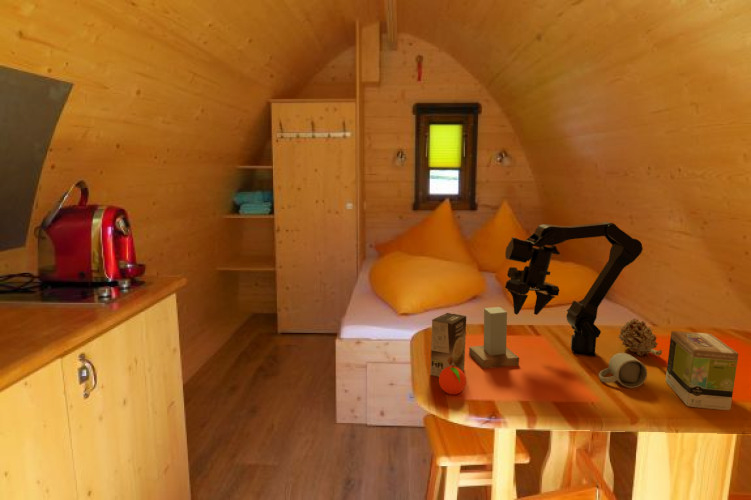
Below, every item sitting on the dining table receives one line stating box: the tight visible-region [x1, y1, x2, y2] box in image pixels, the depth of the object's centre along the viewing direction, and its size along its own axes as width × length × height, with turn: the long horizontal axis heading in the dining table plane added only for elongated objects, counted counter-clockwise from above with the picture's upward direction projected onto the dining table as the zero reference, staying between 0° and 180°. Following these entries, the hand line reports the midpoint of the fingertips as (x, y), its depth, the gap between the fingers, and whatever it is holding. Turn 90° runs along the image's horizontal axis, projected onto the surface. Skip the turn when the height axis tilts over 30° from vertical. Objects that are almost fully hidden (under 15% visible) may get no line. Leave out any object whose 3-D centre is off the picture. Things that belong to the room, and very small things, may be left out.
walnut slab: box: [468, 345, 520, 369], centre depth 151 cm, size 11×11×3 cm
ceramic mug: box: [598, 352, 648, 389], centre depth 135 cm, size 11×8×8 cm
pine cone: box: [618, 318, 663, 357], centre depth 152 cm, size 22×10×10 cm, turn 2°
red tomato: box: [438, 366, 467, 395], centre depth 128 cm, size 8×7×7 cm
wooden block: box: [483, 306, 508, 356], centre depth 149 cm, size 5×5×13 cm
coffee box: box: [430, 312, 467, 378], centre depth 140 cm, size 9×6×16 cm
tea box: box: [665, 330, 739, 411], centre depth 126 cm, size 15×10×15 cm, turn 168°
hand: (525, 314), depth 154 cm, fingers open, 9 cm apart
